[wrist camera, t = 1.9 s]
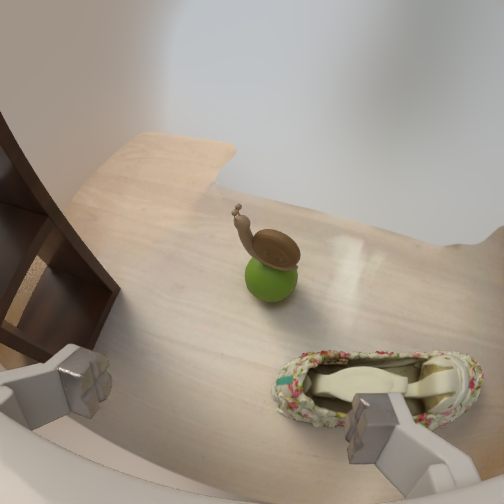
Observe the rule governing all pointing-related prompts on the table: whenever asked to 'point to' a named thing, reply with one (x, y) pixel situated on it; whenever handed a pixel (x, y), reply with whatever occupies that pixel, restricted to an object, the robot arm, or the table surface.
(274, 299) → the snail figurine
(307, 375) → the ballet flat
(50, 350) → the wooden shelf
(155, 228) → the table surface
